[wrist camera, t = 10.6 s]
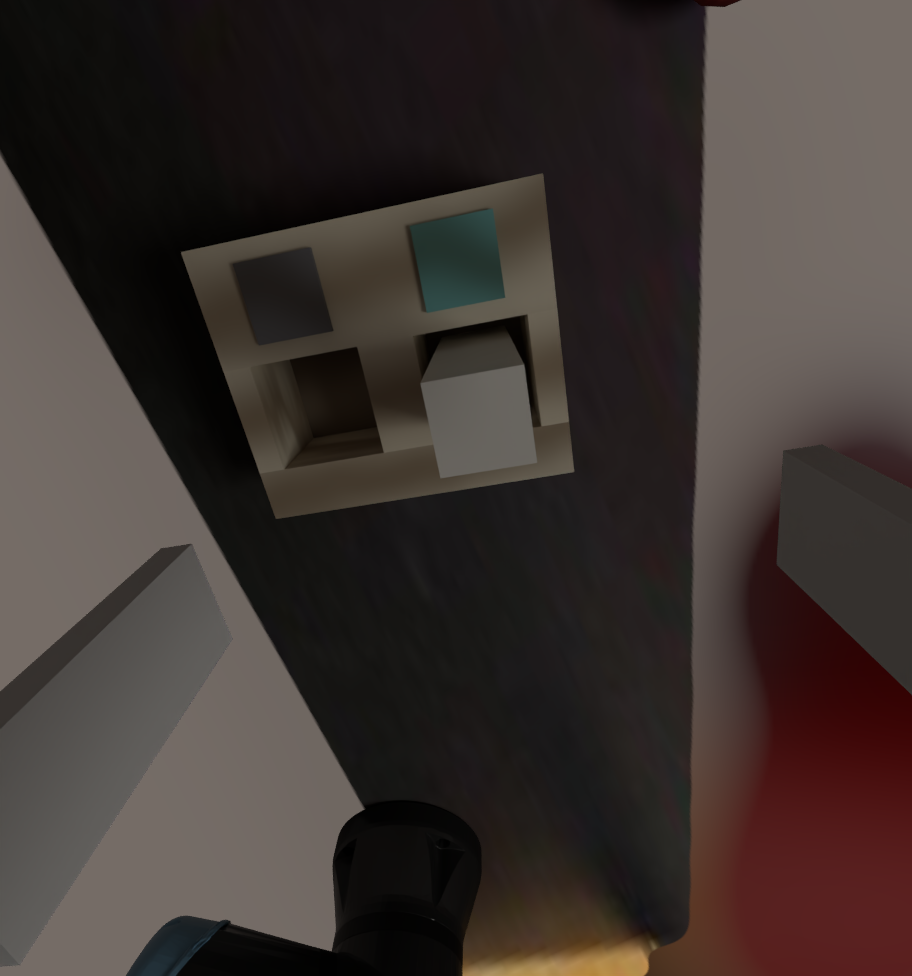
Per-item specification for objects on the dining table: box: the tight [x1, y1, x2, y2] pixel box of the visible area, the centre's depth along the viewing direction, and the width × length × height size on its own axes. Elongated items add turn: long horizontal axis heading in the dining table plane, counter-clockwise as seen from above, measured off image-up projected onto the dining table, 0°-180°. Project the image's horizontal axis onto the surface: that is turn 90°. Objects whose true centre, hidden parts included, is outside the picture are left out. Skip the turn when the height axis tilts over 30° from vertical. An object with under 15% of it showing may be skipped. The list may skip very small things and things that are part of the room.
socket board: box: [181, 174, 574, 519], centre depth 31 cm, size 15×18×7 cm
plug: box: [420, 325, 537, 478], centre depth 27 cm, size 4×4×14 cm
